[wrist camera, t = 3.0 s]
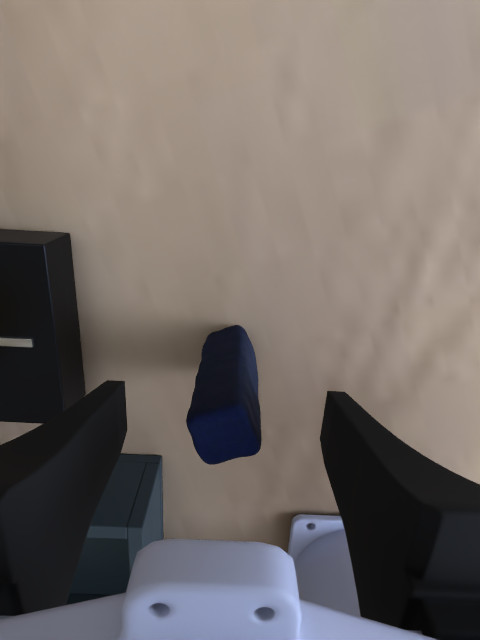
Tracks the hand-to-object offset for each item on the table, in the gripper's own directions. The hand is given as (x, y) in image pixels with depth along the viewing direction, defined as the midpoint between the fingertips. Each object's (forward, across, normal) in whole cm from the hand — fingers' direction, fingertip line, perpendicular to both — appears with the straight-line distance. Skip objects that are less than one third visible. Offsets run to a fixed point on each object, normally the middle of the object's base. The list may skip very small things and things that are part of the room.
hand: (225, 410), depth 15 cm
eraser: (+5, 0, 0) cm, 5 cm away
